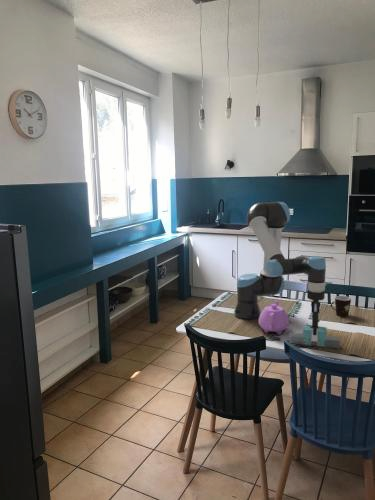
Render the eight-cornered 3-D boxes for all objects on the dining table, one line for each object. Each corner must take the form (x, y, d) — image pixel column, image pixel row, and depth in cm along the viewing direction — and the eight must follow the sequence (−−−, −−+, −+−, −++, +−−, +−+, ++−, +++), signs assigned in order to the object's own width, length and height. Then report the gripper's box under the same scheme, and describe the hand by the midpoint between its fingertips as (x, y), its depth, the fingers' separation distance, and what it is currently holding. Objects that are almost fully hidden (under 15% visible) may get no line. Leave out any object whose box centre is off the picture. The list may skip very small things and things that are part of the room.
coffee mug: (347, 312, 223) (348, 295, 221) (352, 317, 214) (353, 300, 212) (326, 312, 224) (327, 295, 222) (330, 317, 215) (331, 300, 214)
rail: (289, 343, 183) (289, 335, 182) (290, 340, 187) (290, 332, 186) (339, 349, 176) (339, 340, 175) (338, 345, 180) (339, 337, 179)
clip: (303, 345, 180) (303, 329, 179) (303, 340, 185) (304, 325, 184) (325, 347, 177) (326, 332, 175) (325, 342, 182) (326, 327, 181)
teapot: (262, 320, 214) (262, 296, 211) (291, 323, 208) (292, 299, 206) (255, 335, 193) (255, 309, 191) (287, 339, 188) (287, 312, 185)
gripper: (325, 296, 167) (323, 347, 170) (324, 285, 184) (323, 331, 188) (306, 295, 169) (305, 345, 173) (308, 284, 187) (306, 329, 191)
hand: (314, 338), depth 181 cm, fingers open, 6 cm apart
